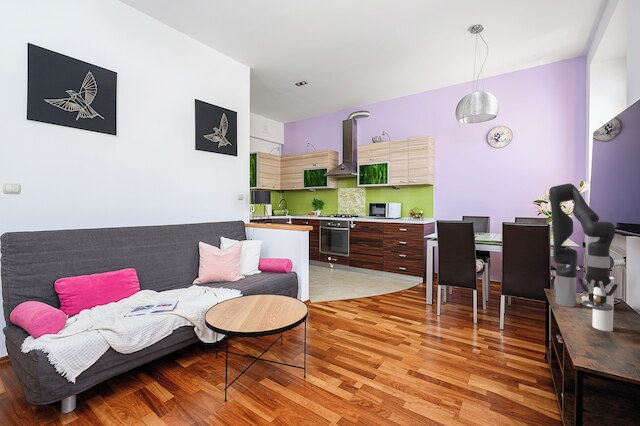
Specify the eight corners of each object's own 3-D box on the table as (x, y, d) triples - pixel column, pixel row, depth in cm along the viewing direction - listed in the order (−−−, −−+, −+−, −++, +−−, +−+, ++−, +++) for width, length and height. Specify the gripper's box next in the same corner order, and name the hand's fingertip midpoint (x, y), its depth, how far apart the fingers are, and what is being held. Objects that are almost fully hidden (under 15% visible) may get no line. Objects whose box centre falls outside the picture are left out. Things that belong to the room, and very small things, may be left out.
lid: (577, 302, 140) (578, 291, 140) (603, 303, 138) (603, 292, 137) (590, 309, 131) (590, 298, 131) (618, 311, 128) (618, 299, 128)
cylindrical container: (606, 325, 144) (607, 275, 143) (616, 332, 137) (618, 279, 136) (589, 324, 146) (590, 274, 145) (598, 330, 139) (599, 278, 138)
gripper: (575, 263, 137) (575, 300, 138) (618, 269, 125) (617, 308, 126) (580, 261, 141) (579, 296, 142) (621, 266, 130) (620, 305, 131)
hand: (597, 302), depth 134 cm, fingers closed on lid, 3 cm apart
